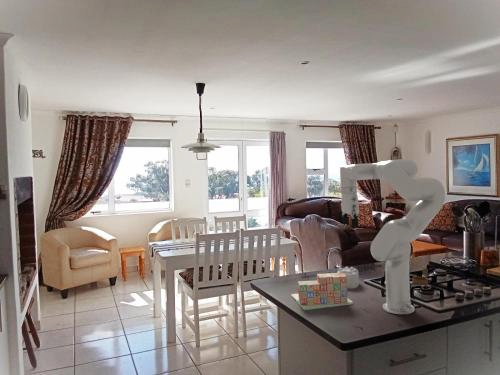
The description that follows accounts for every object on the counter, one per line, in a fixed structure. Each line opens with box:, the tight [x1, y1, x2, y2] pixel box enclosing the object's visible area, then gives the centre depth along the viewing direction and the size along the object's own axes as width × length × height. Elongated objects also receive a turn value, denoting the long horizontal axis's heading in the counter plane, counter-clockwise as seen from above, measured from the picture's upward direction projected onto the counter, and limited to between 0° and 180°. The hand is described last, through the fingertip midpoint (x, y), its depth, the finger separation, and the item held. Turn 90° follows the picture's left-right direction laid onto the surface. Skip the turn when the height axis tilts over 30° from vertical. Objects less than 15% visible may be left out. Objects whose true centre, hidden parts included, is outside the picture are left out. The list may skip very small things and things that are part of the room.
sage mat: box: [297, 297, 354, 311], centre depth 172 cm, size 9×23×1 cm, turn 101°
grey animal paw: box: [336, 266, 360, 289], centre depth 199 cm, size 10×13×9 cm
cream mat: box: [290, 293, 299, 303], centre depth 182 cm, size 9×23×1 cm, turn 101°
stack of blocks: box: [297, 272, 349, 306], centre depth 171 cm, size 21×6×12 cm, turn 90°
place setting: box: [411, 268, 429, 286], centre depth 191 cm, size 18×20×6 cm
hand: (350, 225), depth 183 cm, fingers open, 9 cm apart
